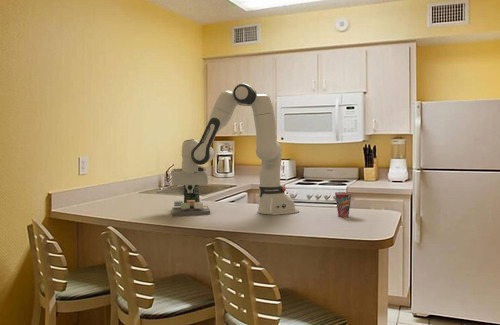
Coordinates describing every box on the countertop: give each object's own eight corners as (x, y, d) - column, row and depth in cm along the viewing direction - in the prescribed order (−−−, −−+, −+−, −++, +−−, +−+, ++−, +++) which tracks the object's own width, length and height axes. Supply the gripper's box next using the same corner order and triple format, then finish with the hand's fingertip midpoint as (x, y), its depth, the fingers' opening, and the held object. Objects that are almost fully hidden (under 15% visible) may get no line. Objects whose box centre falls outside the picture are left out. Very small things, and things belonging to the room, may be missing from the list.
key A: (202, 206, 242) (202, 201, 242) (202, 207, 238) (202, 203, 238) (194, 206, 242) (193, 202, 242) (194, 208, 237) (194, 203, 237)
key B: (189, 207, 241) (189, 202, 241) (189, 208, 237) (189, 203, 237) (181, 207, 240) (180, 202, 240) (181, 208, 236) (181, 204, 236)
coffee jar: (192, 209, 254) (191, 177, 252) (181, 208, 258) (180, 177, 257) (202, 207, 262) (201, 176, 261) (192, 206, 266) (191, 175, 265)
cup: (339, 218, 218) (339, 194, 218) (332, 215, 226) (331, 192, 226) (356, 217, 221) (356, 193, 220) (348, 214, 229) (348, 191, 228)
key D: (182, 204, 249) (182, 200, 249) (182, 206, 245) (182, 201, 245) (174, 205, 249) (174, 200, 249) (174, 206, 244) (174, 202, 244)
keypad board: (207, 209, 254) (207, 205, 254) (210, 214, 237) (210, 210, 237) (172, 210, 251) (172, 206, 251) (172, 216, 233) (172, 212, 233)
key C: (195, 204, 251) (194, 199, 251) (195, 205, 246) (195, 201, 246) (186, 204, 250) (186, 200, 250) (187, 205, 246) (187, 201, 245)
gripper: (170, 169, 242) (171, 194, 243) (208, 168, 246) (208, 193, 246) (170, 168, 248) (171, 192, 249) (207, 167, 252) (207, 191, 253)
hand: (190, 193), depth 248 cm, fingers closed
